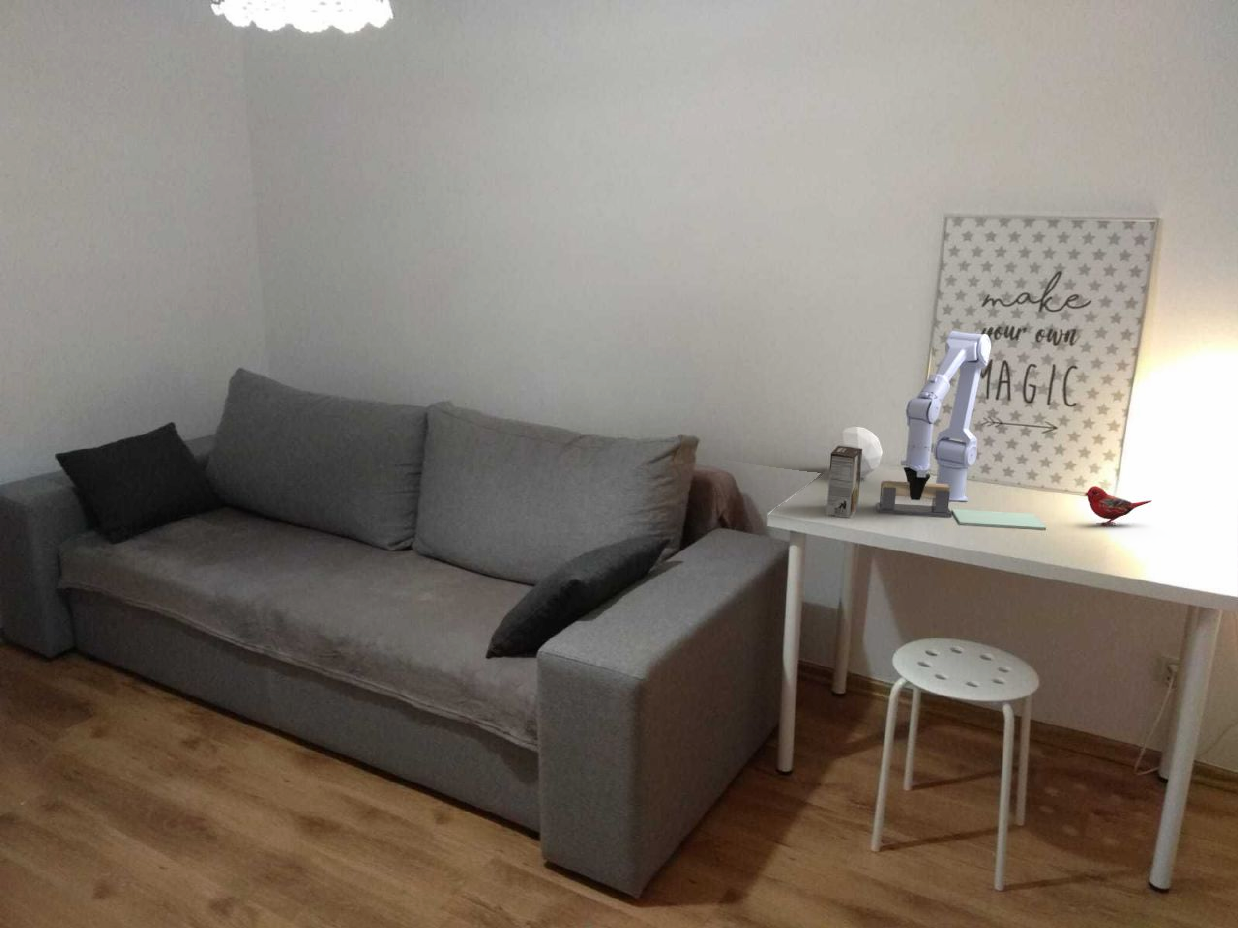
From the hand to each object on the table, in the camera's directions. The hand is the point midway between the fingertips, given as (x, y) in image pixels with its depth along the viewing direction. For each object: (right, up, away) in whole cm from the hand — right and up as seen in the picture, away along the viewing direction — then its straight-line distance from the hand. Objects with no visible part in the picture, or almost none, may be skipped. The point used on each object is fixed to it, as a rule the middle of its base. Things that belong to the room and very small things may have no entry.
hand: (914, 497), depth 240 cm
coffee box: (-18, -4, 0) cm, 19 cm away
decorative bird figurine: (+47, -7, -7) cm, 48 cm away
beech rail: (0, +1, 0) cm, 1 cm away
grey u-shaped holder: (0, -4, +1) cm, 4 cm away
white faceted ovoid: (-6, +4, +31) cm, 32 cm away
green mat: (+19, -5, -5) cm, 21 cm away
